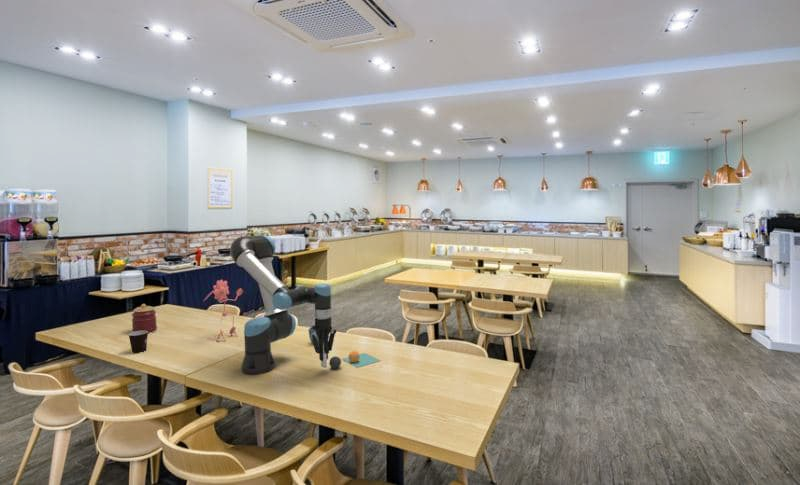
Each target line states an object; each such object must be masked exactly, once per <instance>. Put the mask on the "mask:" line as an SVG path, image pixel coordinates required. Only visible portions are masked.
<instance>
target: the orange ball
mask: <svg viewBox="0 0 800 485" xmlns="http://www.w3.org/2000/svg"><path fill="white" fill-rule="evenodd" d="M359 354H360V353H359V352H358V351H357V350H352V351H350V352H349V353H348V356H347V358H349V360H350V361H351V362H353V363H354V362H357V361H358V360H359V358H360V356H359Z"/></svg>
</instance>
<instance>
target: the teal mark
mask: <svg viewBox="0 0 800 485" xmlns="http://www.w3.org/2000/svg"><path fill="white" fill-rule="evenodd" d="M359 356H360V358H359V360H358V361H357V362H354V363H353V362H351V361H350V360H349V358H348V357H344V358H342V359H341V361H342V360H343V361H344V362H346V363H348V364H350V365H352V367H353V366H354V367H355V368H356V369H357V368H362V367H364V366H368V365H371V364H375V363H378V362H381V360H380V359H378V358H377V357H374V356H373V355H371V354H368V353H366V352H363V353H359Z"/></svg>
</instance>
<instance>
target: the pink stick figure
mask: <svg viewBox="0 0 800 485" xmlns="http://www.w3.org/2000/svg"><path fill="white" fill-rule="evenodd" d="M212 287H213V290H212V291H211V292H210V293H208V294H207V296H206V297H205V298H204V299H203V302H205V300H207V299H208V298H209V297H210V296H211V295H212V294H213V295H214V299H215V300H217V301H218V303H219V304H221V303H224V304H223V312H222V314H221V315H222V316H221V318H220V321H222V320H223V317H227V316H230V317H232V324H234V321H235V320H234V319H235V316H234V315H231V314H228V312H226V311H225V308H226V303H227V301H232V302H233V301H234V302H236V301H237V299H238V297H240V296H241V295H242V294H243V292H244V290H243V289H242V288H238V289H237V290H236V292H235V294H236V297H235V299H231V298H230V299H229V298H228V296H227V295H230V290H229V288H230V287H229V286H228V281H227V280H223V279H220V280H216V284H215V285H214V284H213V286H212ZM219 332H220V333H219V334H217V335H215V337H216V336H217V338H216V341H215V342H217V341H218V340H219V338H220V337H221V336H222V339H223V341H224V342H226V339H225V337H224V334H223V332H224V331H223V330H221V331H219ZM233 334H235V337H236V338H237V337H238V335H237V332H236V326H231V328H230V329H229V335H231V336H232V335H233ZM211 338H212V336H210V337H209V338H207V340H208V339H211Z"/></svg>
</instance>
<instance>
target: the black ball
mask: <svg viewBox="0 0 800 485" xmlns="http://www.w3.org/2000/svg"><path fill="white" fill-rule="evenodd" d="M341 364H342V359H341V358H340V357H339V356H335V355H334V356H332V357H331V358H330V360H329V366H330V367H331V368H332V369H339V367H340V366H341Z"/></svg>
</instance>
